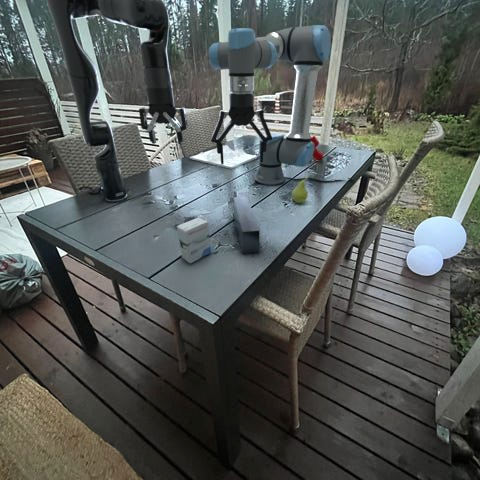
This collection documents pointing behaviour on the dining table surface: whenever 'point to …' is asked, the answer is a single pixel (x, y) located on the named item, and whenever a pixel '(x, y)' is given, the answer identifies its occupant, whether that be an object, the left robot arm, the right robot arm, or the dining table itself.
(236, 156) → the relief map
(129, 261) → the dining table surface
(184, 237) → the ink box
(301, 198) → the fruit
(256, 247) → the bar
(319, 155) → the toy gun
